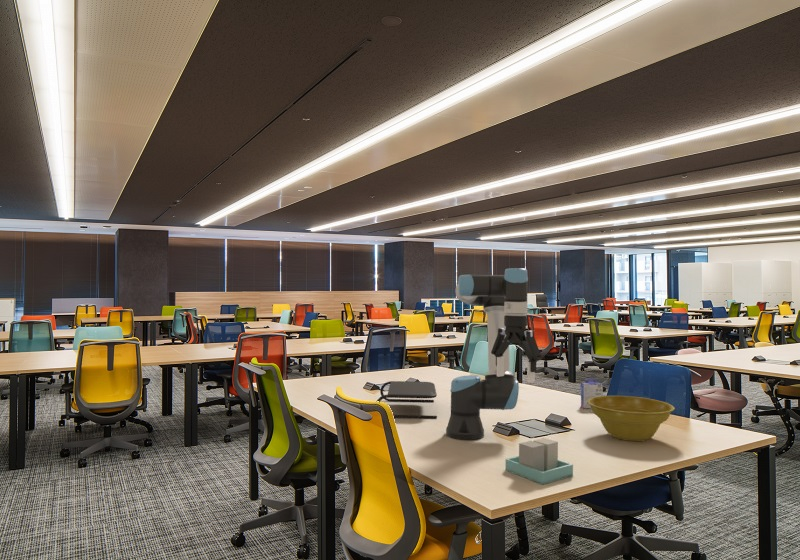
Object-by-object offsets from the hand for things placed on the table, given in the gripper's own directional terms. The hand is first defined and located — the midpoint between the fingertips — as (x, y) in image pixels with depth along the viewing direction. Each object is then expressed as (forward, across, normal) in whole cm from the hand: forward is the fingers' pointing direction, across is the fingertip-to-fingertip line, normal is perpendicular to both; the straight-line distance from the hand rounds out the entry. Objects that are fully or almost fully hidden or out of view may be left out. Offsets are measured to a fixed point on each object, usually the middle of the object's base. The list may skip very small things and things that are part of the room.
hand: (515, 379), depth 176 cm
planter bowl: (+29, -1, +67) cm, 73 cm away
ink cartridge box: (+29, -43, +101) cm, 114 cm away
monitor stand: (+29, -88, +19) cm, 95 cm away
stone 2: (+28, +9, +5) cm, 30 cm away
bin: (+29, +8, +2) cm, 30 cm away
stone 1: (+28, +8, -1) cm, 29 cm away
